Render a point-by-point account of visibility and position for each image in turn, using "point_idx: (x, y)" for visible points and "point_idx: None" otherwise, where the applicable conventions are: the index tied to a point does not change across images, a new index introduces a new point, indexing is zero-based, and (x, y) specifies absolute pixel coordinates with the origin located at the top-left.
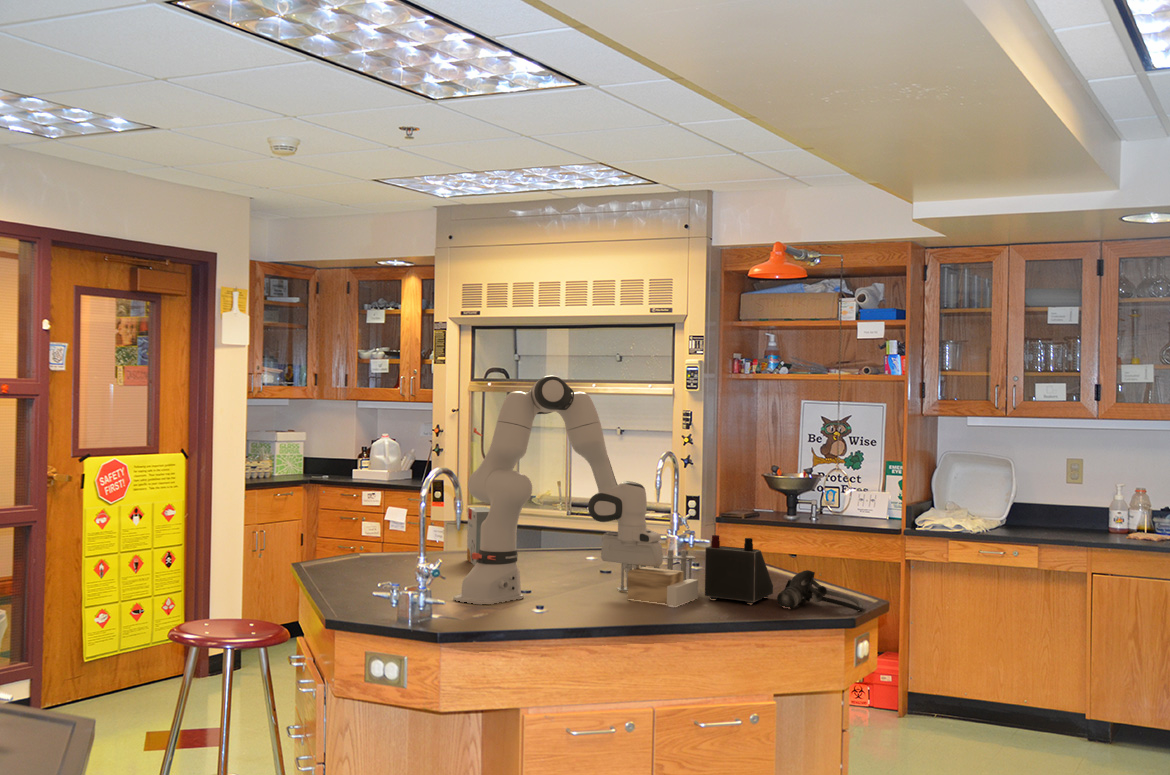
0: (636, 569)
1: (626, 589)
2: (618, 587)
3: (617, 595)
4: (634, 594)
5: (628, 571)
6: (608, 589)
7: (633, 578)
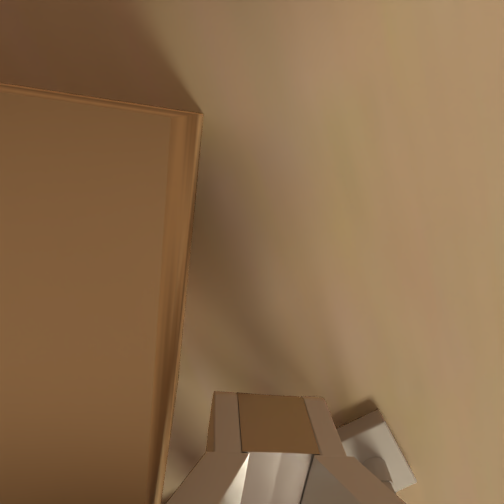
0: (83, 482)
1: None
2: (406, 484)
3: (356, 294)
4: (105, 99)
5: (153, 114)
6: (463, 447)
7: (38, 92)
